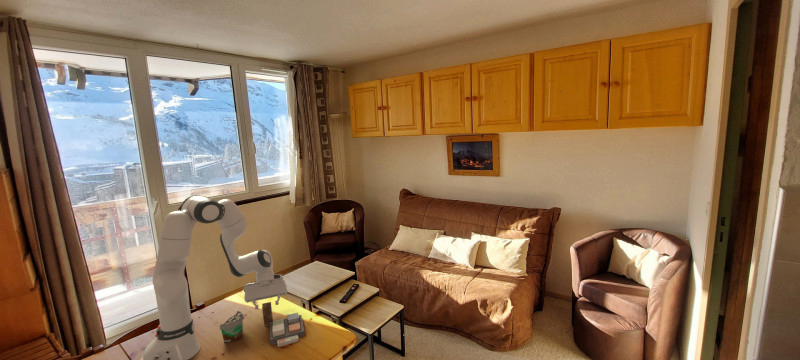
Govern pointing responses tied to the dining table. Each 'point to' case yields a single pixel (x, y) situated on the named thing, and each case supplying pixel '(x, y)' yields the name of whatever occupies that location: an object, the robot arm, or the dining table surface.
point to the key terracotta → (294, 327)
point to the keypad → (286, 334)
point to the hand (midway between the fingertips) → (267, 306)
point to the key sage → (278, 322)
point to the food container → (233, 328)
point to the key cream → (278, 330)
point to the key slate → (293, 318)
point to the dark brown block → (267, 313)
